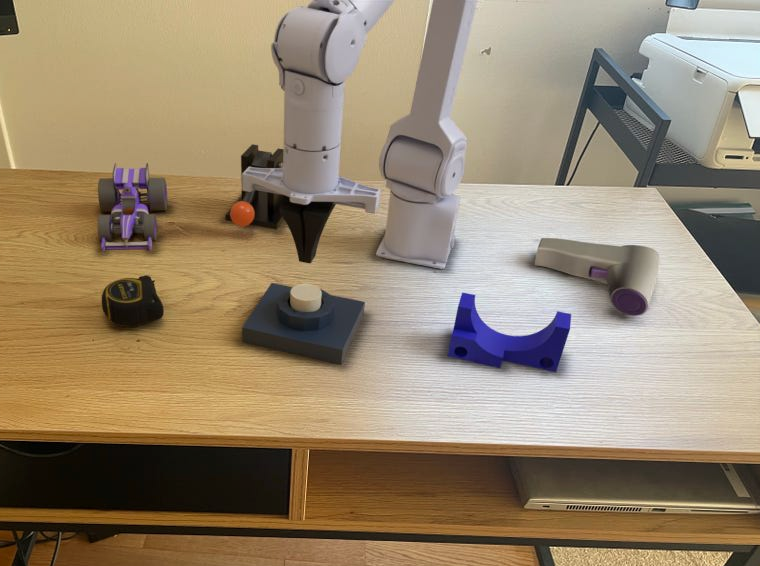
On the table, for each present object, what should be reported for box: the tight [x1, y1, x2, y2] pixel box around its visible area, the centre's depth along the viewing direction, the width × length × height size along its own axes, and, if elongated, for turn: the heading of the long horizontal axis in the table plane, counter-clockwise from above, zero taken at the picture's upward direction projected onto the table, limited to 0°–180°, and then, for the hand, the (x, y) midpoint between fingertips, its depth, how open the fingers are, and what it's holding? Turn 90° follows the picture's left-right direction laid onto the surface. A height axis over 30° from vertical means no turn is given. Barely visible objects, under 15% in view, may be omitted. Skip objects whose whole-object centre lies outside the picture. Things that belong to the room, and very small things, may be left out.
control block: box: [241, 282, 366, 366], centre depth 87 cm, size 12×10×4 cm
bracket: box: [224, 144, 285, 230], centre depth 108 cm, size 10×8×9 cm
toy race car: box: [97, 162, 168, 252], centre depth 105 cm, size 10×15×6 cm, turn 4°
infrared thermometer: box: [534, 237, 661, 317], centre depth 96 cm, size 5×12×15 cm
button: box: [290, 282, 322, 312], centre depth 85 cm, size 4×4×2 cm
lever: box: [230, 149, 273, 227], centre depth 105 cm, size 12×3×3 cm, turn 161°
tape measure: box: [101, 275, 165, 328], centre depth 89 cm, size 7×7×4 cm
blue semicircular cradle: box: [447, 292, 572, 373], centre depth 83 cm, size 12×4×6 cm, turn 71°
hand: (307, 258), depth 82 cm, fingers closed
